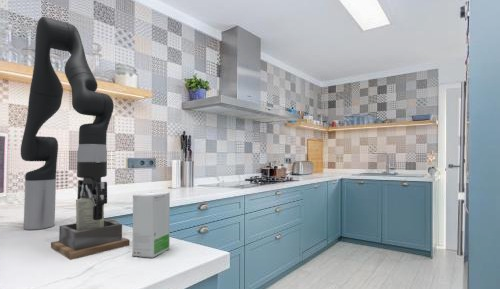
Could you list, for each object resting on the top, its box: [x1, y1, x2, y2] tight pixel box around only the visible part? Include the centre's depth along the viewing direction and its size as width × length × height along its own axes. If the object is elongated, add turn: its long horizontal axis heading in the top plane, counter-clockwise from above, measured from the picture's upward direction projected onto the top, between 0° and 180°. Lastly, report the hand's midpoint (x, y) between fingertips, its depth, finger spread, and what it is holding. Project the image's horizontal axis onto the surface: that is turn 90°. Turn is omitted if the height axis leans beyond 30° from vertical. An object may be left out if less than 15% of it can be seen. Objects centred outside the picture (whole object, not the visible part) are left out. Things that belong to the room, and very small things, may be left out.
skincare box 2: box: [131, 191, 171, 259], centre depth 76 cm, size 8×7×16 cm
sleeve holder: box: [50, 218, 130, 260], centre depth 81 cm, size 15×15×6 cm
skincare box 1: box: [75, 196, 105, 231], centre depth 82 cm, size 6×4×12 cm
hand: (91, 217), depth 82 cm, fingers open, 8 cm apart
